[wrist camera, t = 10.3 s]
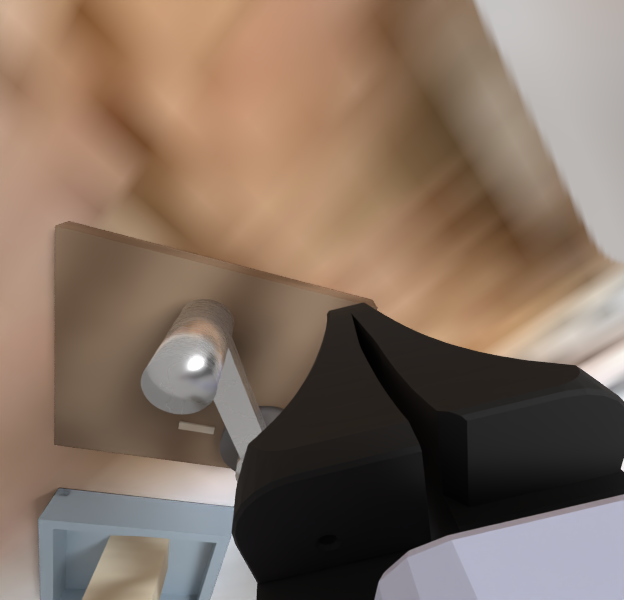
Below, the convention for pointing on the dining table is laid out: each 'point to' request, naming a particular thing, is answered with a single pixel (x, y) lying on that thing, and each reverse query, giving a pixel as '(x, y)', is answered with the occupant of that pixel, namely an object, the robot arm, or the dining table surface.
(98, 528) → the tray
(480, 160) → the dining table surface
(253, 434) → the crank lever
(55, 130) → the dining table surface
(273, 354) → the board
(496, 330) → the dining table surface
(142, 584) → the block
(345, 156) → the dining table surface
